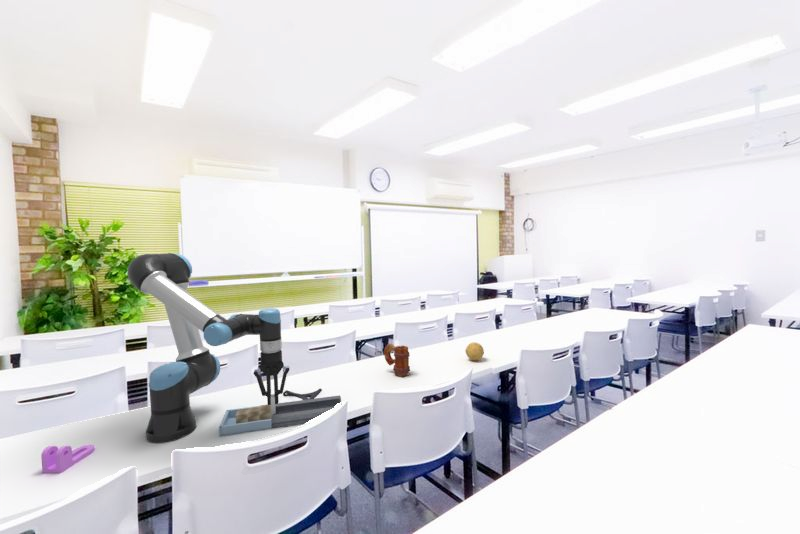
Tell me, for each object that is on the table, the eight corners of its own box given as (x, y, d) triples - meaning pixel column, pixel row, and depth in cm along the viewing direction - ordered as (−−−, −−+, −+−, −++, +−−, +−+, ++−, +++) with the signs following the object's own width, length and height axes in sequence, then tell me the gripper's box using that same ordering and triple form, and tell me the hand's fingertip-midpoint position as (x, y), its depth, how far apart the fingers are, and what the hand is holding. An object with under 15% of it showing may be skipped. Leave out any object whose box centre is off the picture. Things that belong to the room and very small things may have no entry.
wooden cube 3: (259, 420, 133) (259, 409, 133) (260, 415, 137) (260, 405, 137) (271, 419, 134) (270, 408, 134) (271, 414, 138) (271, 404, 138)
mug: (414, 373, 183) (413, 344, 183) (405, 378, 177) (405, 348, 176) (390, 369, 191) (389, 341, 190) (381, 373, 184) (380, 344, 184)
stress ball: (470, 358, 210) (459, 349, 206) (481, 345, 210) (470, 336, 206) (479, 366, 200) (467, 357, 197) (490, 353, 201) (479, 343, 197)
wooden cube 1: (236, 426, 131) (235, 415, 131) (237, 421, 135) (237, 410, 135) (248, 424, 132) (247, 413, 132) (249, 419, 136) (248, 409, 136)
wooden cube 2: (248, 423, 132) (247, 412, 132) (249, 418, 136) (248, 408, 136) (259, 421, 133) (259, 411, 133) (260, 416, 137) (260, 406, 137)
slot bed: (271, 428, 130) (271, 419, 129) (273, 412, 143) (273, 403, 143) (344, 418, 137) (344, 409, 137) (340, 403, 150) (339, 394, 150)
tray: (219, 436, 125) (219, 427, 125) (226, 418, 138) (226, 410, 138) (271, 428, 130) (271, 420, 129) (273, 412, 143) (273, 404, 143)
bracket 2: (291, 390, 167) (291, 384, 166) (322, 392, 164) (321, 385, 164) (275, 403, 152) (275, 397, 152) (308, 405, 150) (308, 399, 150)
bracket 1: (61, 473, 106) (59, 450, 105) (42, 473, 106) (40, 450, 106) (99, 448, 119) (97, 428, 118) (82, 448, 119) (81, 428, 118)
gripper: (251, 355, 130) (253, 419, 131) (289, 351, 133) (291, 414, 134) (253, 349, 137) (256, 410, 138) (289, 346, 140) (291, 405, 142)
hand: (273, 412), depth 136 cm, fingers closed
